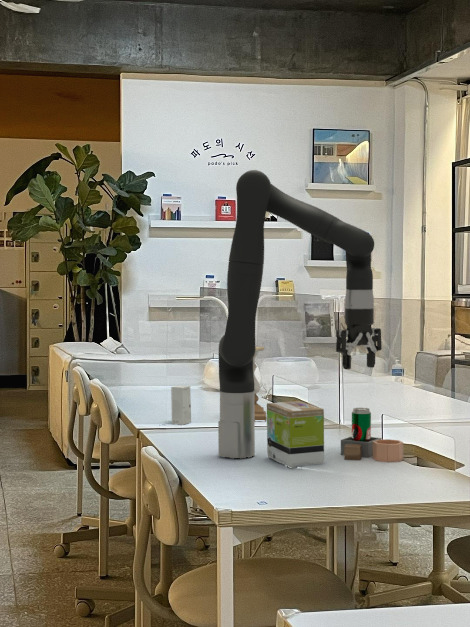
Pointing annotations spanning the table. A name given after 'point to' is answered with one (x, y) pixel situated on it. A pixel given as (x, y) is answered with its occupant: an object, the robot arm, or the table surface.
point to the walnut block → (352, 452)
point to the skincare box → (181, 404)
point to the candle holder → (259, 410)
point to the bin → (365, 446)
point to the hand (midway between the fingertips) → (359, 368)
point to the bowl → (388, 450)
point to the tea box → (295, 433)
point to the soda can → (361, 424)
